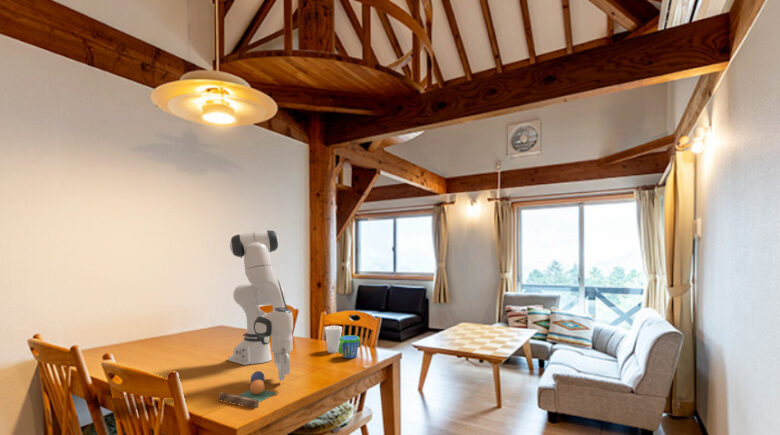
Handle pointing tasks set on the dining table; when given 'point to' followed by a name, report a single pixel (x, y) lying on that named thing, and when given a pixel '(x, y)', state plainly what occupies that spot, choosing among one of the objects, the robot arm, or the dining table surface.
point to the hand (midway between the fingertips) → (281, 379)
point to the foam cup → (333, 338)
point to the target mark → (259, 397)
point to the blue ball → (257, 376)
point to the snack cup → (349, 346)
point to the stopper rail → (238, 400)
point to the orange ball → (257, 387)
